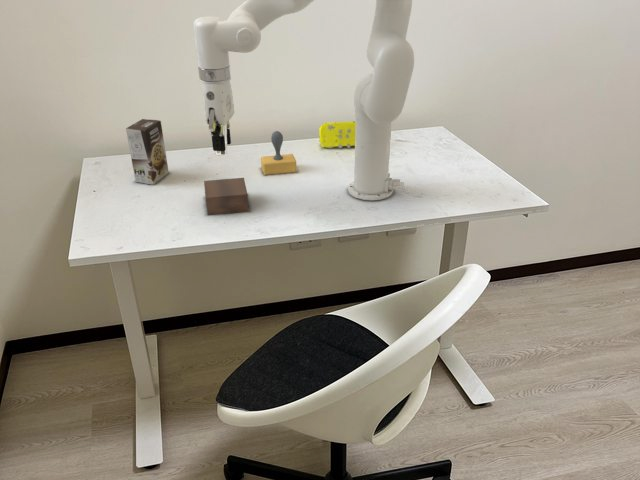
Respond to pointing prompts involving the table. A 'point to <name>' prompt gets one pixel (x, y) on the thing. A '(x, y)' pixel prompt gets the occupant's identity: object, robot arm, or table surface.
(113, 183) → the table surface
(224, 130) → the milkshake
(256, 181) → the table surface
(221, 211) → the brown square block
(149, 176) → the coffee box
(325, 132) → the yellow toy chassis
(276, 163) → the rubber stamp
